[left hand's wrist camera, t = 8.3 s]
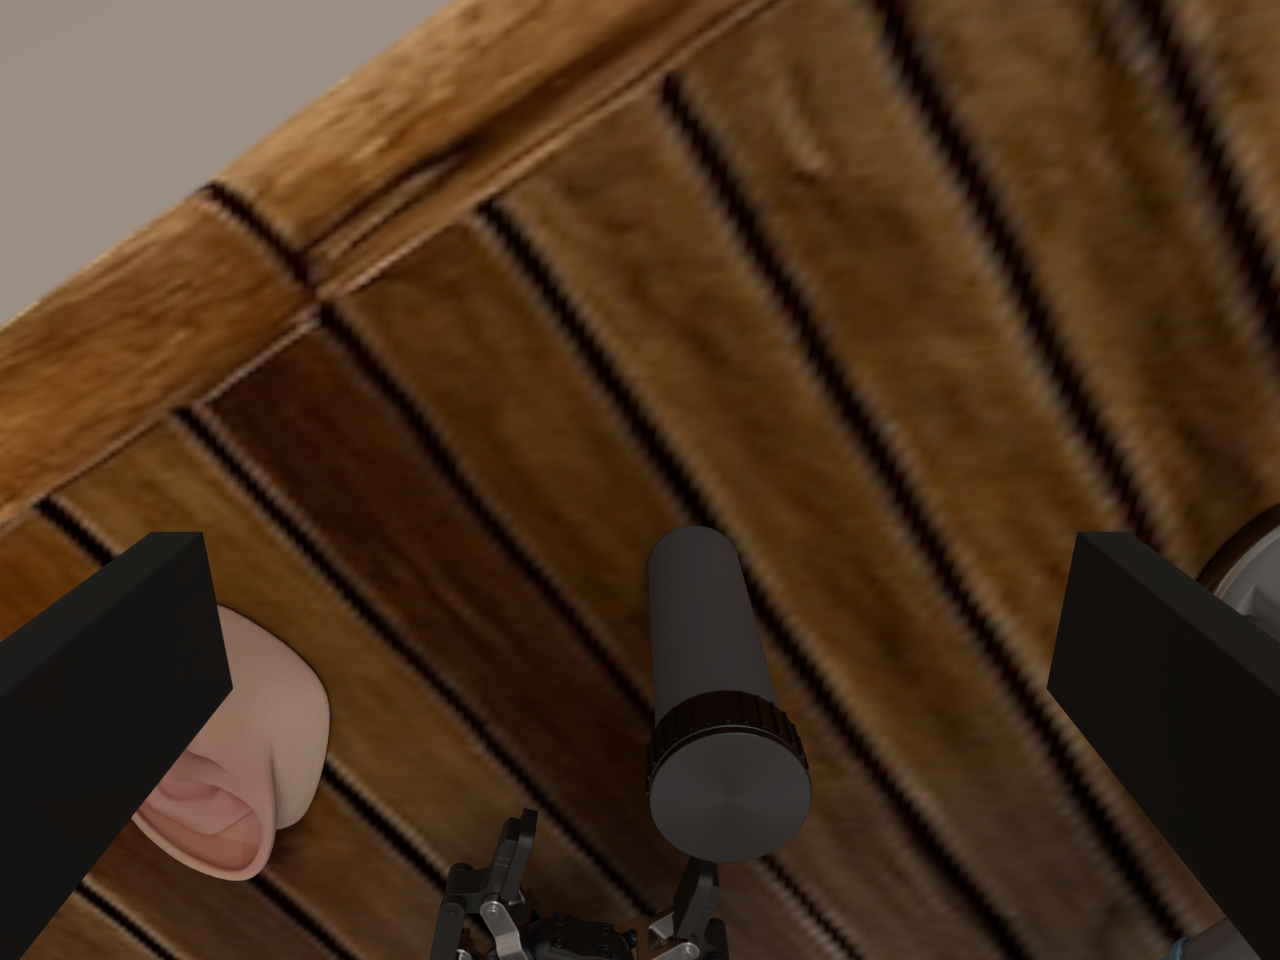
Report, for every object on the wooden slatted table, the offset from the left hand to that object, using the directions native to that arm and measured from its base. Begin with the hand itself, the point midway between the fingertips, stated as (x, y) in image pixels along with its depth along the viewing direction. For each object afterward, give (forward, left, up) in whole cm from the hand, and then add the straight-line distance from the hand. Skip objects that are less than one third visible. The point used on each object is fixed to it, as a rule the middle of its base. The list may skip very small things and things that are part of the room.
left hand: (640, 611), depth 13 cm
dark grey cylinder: (-11, +5, -26) cm, 28 cm away
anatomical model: (-4, +30, -25) cm, 39 cm away
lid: (-11, +5, -10) cm, 16 cm away
